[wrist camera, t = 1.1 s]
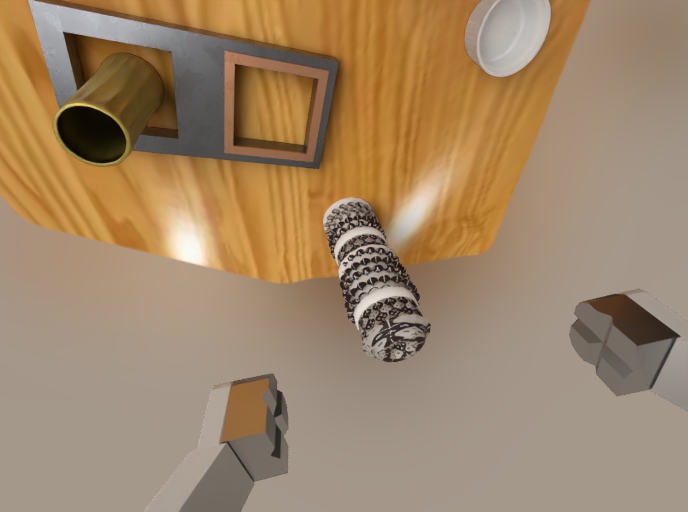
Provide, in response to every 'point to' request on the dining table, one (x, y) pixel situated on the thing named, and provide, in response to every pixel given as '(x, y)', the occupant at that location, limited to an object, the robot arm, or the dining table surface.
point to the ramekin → (506, 34)
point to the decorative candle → (374, 283)
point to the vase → (109, 111)
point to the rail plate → (191, 81)
